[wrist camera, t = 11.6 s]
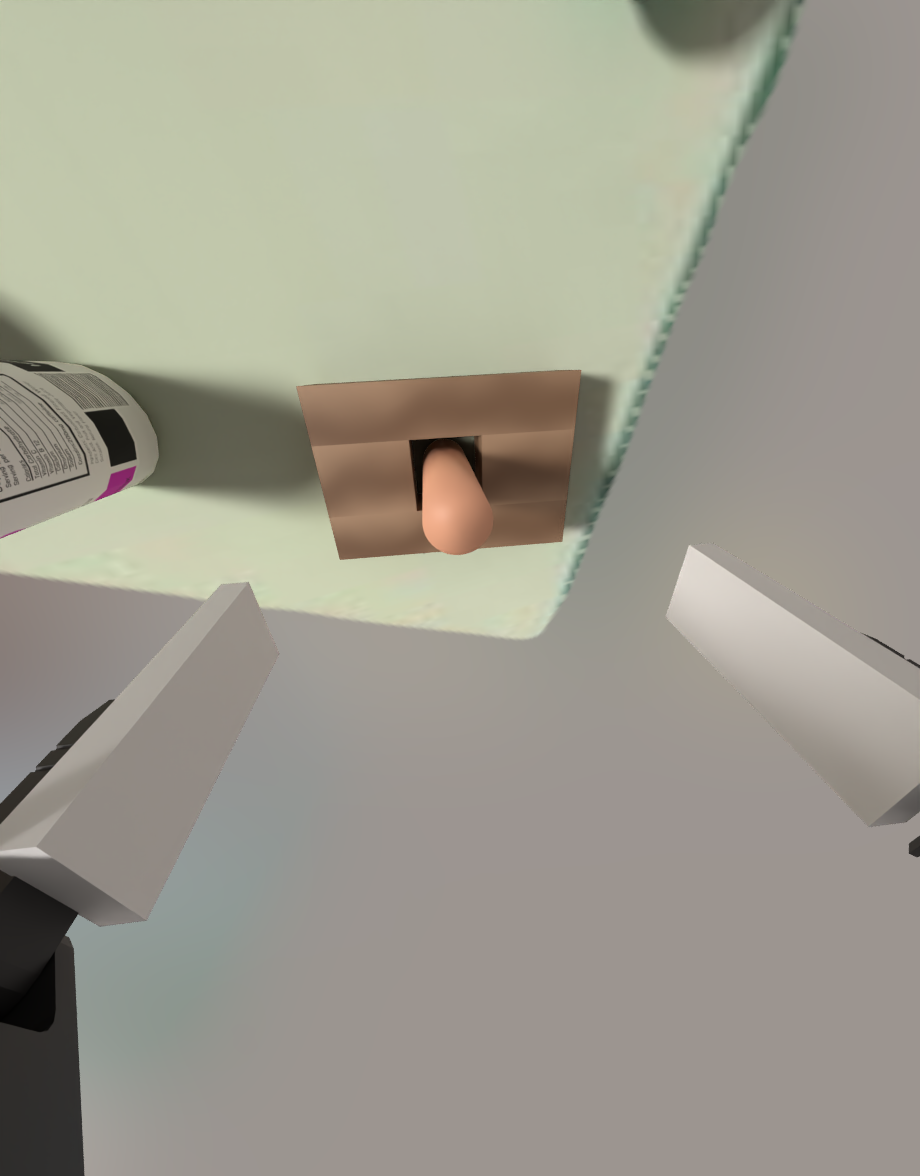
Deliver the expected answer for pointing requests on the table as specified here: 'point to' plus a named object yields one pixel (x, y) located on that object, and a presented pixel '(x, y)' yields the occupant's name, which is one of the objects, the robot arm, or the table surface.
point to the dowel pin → (453, 501)
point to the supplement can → (66, 441)
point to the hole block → (440, 410)
